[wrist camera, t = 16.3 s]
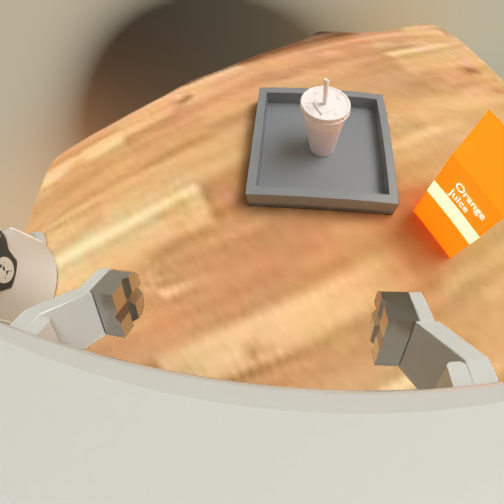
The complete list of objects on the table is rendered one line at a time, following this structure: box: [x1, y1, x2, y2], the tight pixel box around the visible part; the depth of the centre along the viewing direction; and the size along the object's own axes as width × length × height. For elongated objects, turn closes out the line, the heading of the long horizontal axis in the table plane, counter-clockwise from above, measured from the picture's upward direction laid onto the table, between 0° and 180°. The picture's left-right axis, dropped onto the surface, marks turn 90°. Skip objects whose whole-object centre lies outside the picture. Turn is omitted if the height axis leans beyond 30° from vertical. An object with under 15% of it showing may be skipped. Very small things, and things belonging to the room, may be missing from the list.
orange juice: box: [413, 110, 504, 258], centre depth 30 cm, size 8×9×20 cm
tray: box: [245, 88, 399, 215], centre depth 44 cm, size 20×20×4 cm
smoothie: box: [300, 78, 351, 157], centre depth 38 cm, size 6×6×14 cm
